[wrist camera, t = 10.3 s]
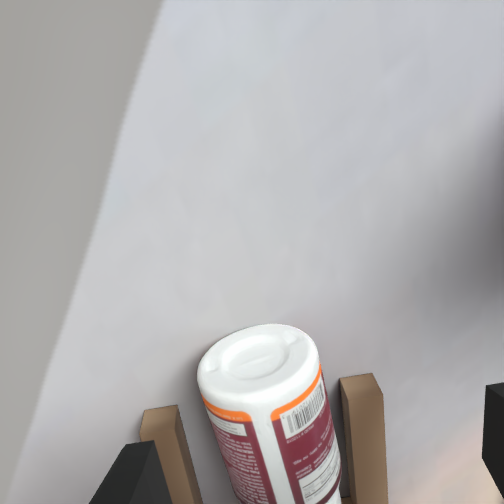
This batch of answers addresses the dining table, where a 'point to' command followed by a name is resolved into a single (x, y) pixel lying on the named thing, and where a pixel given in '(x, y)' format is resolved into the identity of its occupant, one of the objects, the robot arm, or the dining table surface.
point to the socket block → (356, 437)
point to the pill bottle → (272, 416)
